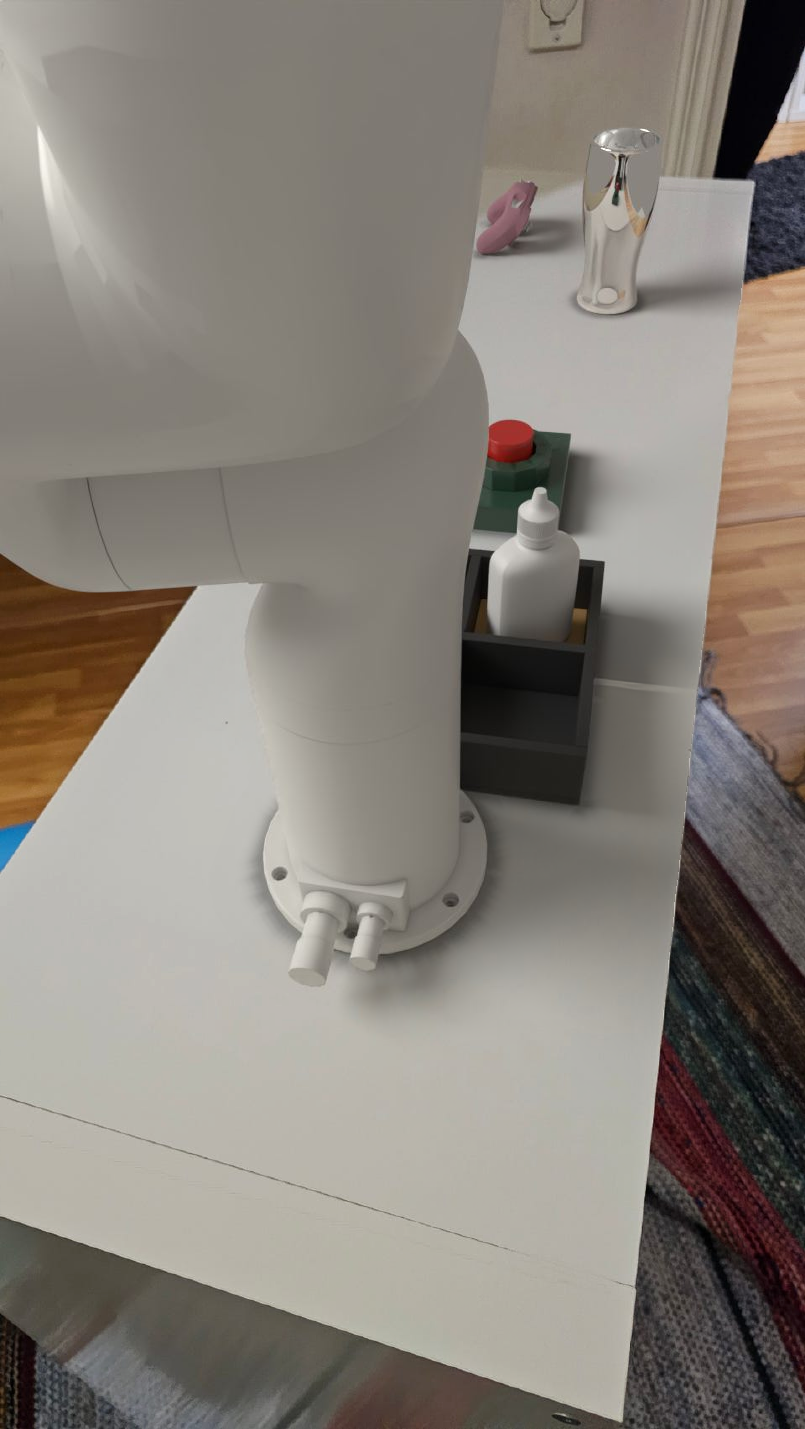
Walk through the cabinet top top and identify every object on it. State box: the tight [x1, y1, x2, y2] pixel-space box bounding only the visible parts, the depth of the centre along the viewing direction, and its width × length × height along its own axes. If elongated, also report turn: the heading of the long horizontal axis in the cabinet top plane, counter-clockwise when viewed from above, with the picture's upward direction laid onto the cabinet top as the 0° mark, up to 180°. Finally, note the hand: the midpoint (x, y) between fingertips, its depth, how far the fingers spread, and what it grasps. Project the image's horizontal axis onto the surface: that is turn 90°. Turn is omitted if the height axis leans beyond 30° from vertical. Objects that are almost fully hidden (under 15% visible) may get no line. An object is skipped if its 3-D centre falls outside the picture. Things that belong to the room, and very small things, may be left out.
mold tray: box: [460, 548, 606, 806], centre depth 62 cm, size 17×17×5 cm
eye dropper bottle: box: [486, 487, 581, 642], centre depth 60 cm, size 4×6×12 cm
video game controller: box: [475, 177, 539, 255], centre depth 107 cm, size 10×5×7 cm, turn 168°
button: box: [487, 419, 534, 463], centre depth 74 cm, size 4×4×2 cm
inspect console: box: [473, 428, 572, 534], centre depth 76 cm, size 11×9×4 cm
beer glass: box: [576, 126, 664, 315], centre depth 93 cm, size 7×7×15 cm
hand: (323, 140), depth 55 cm, fingers closed
